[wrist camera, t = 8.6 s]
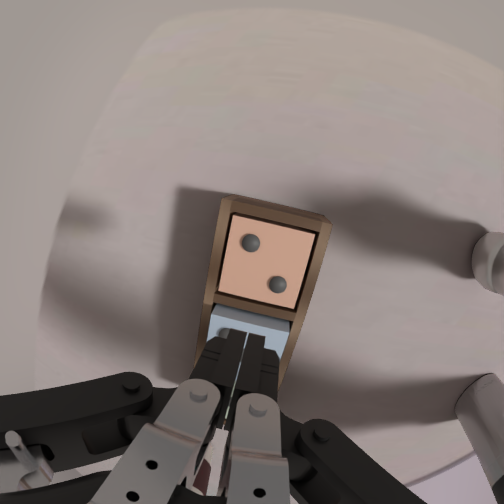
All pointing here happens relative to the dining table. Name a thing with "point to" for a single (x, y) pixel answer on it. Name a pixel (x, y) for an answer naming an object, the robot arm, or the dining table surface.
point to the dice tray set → (294, 316)
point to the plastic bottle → (489, 262)
